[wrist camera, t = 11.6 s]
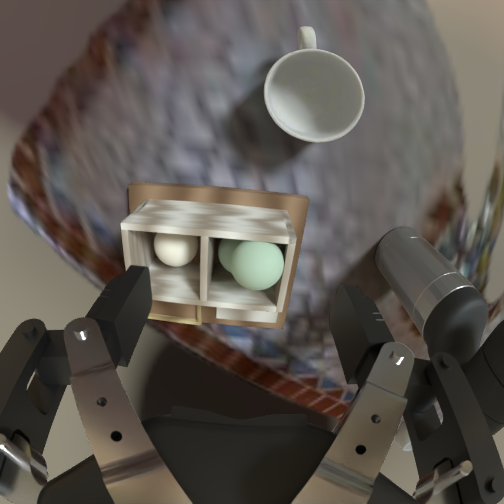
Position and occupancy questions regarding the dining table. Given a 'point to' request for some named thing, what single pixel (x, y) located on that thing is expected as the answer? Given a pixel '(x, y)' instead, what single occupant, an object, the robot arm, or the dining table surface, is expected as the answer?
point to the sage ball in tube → (227, 251)
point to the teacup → (313, 92)
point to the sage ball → (256, 264)
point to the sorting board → (213, 250)
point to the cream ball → (175, 248)
